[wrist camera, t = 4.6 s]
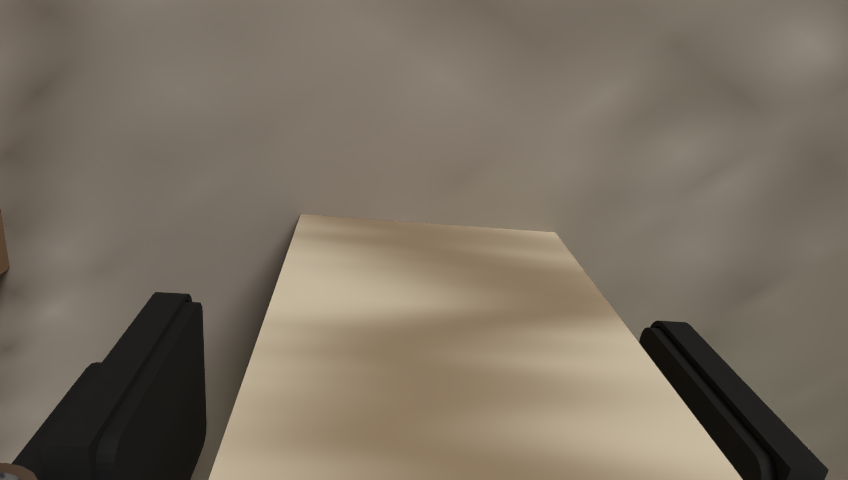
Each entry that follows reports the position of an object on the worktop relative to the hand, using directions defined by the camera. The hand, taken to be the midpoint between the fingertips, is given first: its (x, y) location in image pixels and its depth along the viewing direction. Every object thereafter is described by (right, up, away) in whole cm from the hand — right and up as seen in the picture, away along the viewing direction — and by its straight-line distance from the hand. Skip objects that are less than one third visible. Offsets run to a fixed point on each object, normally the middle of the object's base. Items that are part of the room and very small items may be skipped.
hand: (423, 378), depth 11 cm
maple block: (0, +1, +1) cm, 2 cm away
